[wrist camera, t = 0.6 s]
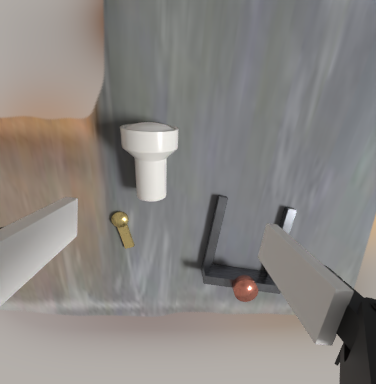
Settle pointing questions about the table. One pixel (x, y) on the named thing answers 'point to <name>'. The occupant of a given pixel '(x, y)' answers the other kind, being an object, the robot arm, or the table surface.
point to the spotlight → (150, 155)
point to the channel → (232, 276)
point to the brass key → (123, 228)
